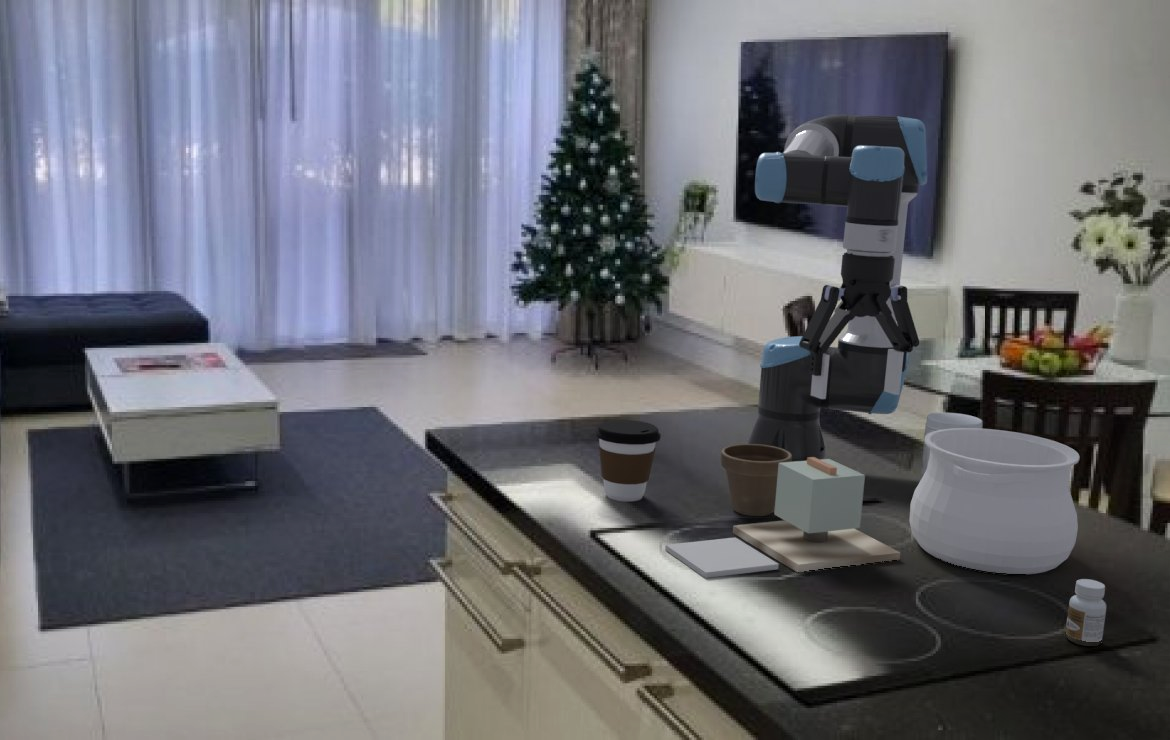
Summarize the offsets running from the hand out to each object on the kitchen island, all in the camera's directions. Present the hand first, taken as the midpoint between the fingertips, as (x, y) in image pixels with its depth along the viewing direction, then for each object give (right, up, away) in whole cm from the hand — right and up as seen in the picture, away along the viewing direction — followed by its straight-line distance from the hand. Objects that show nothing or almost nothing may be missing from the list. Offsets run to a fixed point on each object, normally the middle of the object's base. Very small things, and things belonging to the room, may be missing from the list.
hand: (855, 395), depth 191 cm
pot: (+21, -24, +5) cm, 33 cm away
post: (-6, -23, +4) cm, 24 cm away
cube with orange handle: (-5, -19, +3) cm, 20 cm away
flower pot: (-13, -20, +20) cm, 31 cm away
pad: (-21, -24, -4) cm, 32 cm away
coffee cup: (-34, -18, +24) cm, 45 cm away
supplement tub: (+22, -19, +31) cm, 43 cm away
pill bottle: (+23, -31, -28) cm, 47 cm away
